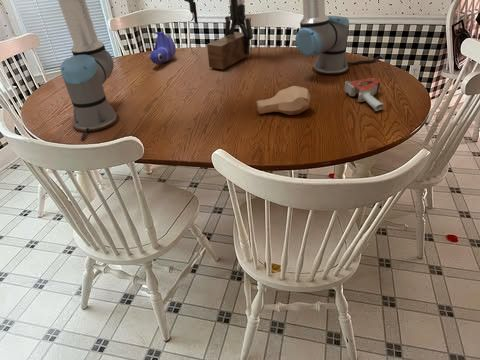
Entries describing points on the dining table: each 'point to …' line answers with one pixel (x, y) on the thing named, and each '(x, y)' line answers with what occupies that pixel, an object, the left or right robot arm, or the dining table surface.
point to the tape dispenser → (365, 91)
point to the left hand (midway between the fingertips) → (215, 20)
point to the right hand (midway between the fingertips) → (239, 52)
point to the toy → (162, 49)
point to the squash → (286, 101)
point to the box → (226, 50)
